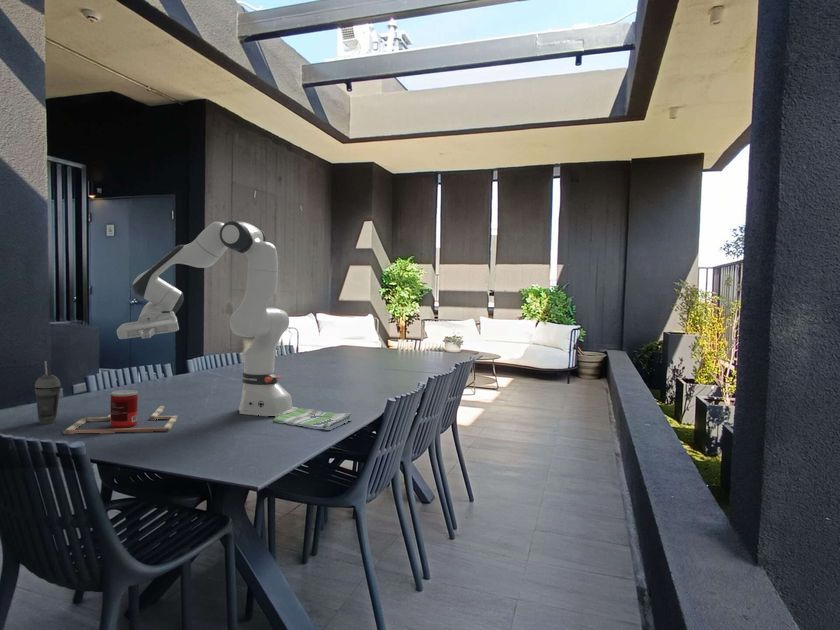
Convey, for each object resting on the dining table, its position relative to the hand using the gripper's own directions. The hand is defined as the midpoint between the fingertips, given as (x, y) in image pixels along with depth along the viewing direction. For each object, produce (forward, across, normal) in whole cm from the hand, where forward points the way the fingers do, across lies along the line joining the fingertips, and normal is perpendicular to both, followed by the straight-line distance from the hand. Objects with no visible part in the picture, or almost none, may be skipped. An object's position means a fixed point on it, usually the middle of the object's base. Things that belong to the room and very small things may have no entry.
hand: (145, 336), depth 186 cm
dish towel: (+29, +52, +31) cm, 67 cm away
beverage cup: (+15, -32, +19) cm, 40 cm away
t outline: (+16, -7, +23) cm, 29 cm away
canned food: (+23, -8, +21) cm, 32 cm away
